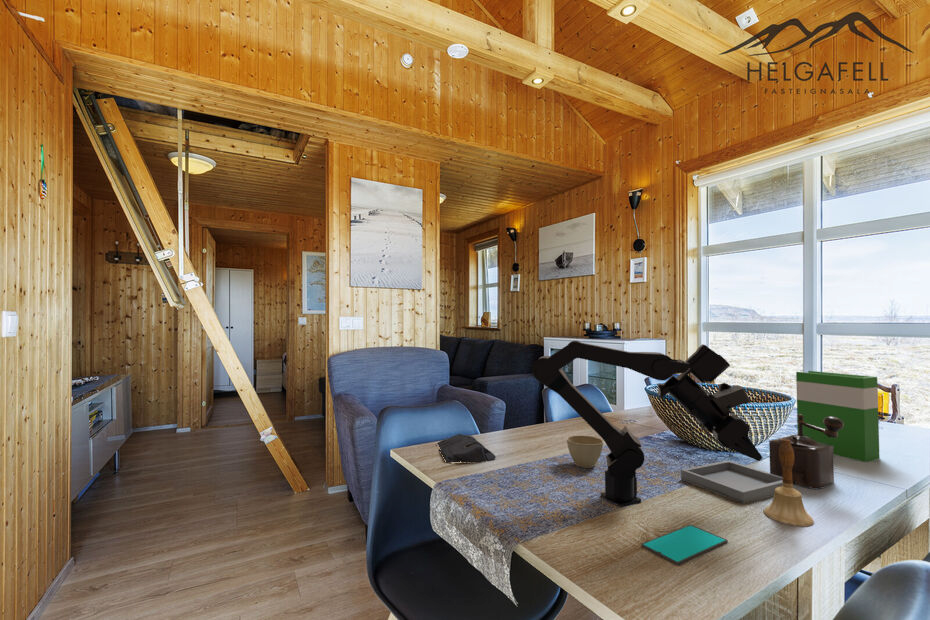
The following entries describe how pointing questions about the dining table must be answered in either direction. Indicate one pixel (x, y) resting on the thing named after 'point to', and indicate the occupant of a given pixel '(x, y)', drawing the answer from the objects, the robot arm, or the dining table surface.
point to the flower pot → (585, 450)
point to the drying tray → (733, 480)
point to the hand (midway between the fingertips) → (752, 452)
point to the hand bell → (788, 494)
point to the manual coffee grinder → (808, 455)
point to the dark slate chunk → (464, 449)
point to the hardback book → (841, 411)
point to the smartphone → (684, 544)
